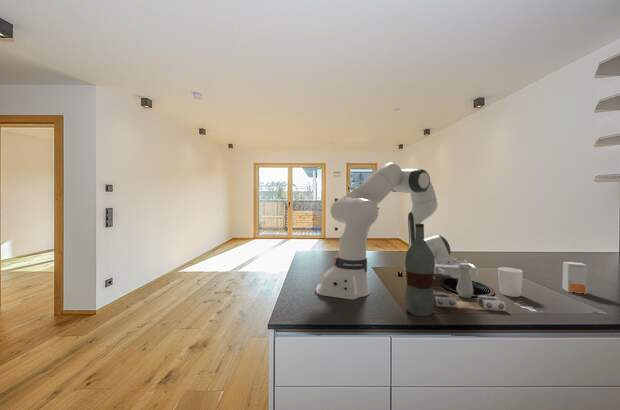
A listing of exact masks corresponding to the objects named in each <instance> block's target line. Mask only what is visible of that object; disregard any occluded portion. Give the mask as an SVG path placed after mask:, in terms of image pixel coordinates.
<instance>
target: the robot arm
mask: <svg viewBox="0 0 620 410" xmlns="http://www.w3.org/2000/svg"><path fill="white" fill-rule="evenodd" d="M391 192H393V193H404V194H410V199H411V203H412V207H411V210H410V211H409V213H408V215H407V227H408V229H407V230H408V249H409V248H410V246H411V245H412V243H413V242H414V241H415V234H416V225H415V224H422V223H423V222H424V221H426V220H427V219H428V218H430V217H431V216H432V215H433V214H434V213H435V212H436V211H437V208H438V199H437V195H436V192H435V189H434V186H433V184H432V182H431V177H430V174H429V173H428V172H427V171H426V170H425V169H423V168H401V167H400V166H399V165H398V164H396V163H395V162H388V163H385V164H384V165H381V166H380V167H379V168H378V169H377V170H375V171H374V172H373V173H372V174H371V175H370V176H369V177H367V179H366V180H365V181H363V182H362V183H361V184H360V185H359V186H357V187H356V188H355V189H353V190H352V191H350V192H348V193H347V194H345V195H344V196H343V197H341V198H339V199H338V200H336V201H334V202H333V203H332V205H331V207H330V215H331V217H332V218H333V219H334V220H335V221H337V222H339V223H341V224H345V226H344V227H345V228H344V231H343V234H342V235H341V236H340V237H339V241H338V244H339V247H338V249H339V251H338V254H339V255H335V256H334V257H333V260H334V262H333V263H334V266H332V267H331V268H329V269H328V270H327V271H326V272H324V274H323V275H322V276H321V281H320V282H319V283H318V284H317V285H316V287H315V294H317V295H318V294H319V295H318V296H326V297H329V298H330V297H332V298H339V299H346V300H357V299H359V298H362V297H367V296H368V295H370V293H371V290H370V286H369V283H368V282H369V281H368V274H367V272H368V258H367V242H368V241H367V239H368V235H369V231H370V229H371V227H372V225H373V224H374V223H375V222H376V221H377V219H378V216H379V207H378V206H377V205H379V204H380V203H381V202H382V201H383V200H384V199H385V198H386V197H387V196H388V195H389V194H390V193H391ZM424 240H425V242H426V244H427V245H428V247H429V248H430V250H431V251H432V253H433V256H434V263H435V267H434V275H442V276H445V277H451V276H459V275H460V270H461V269H459V264H460V263H467V264H470V265H471V270H470V276H471V277H476V276H478V267H476V265H474V264H472V263H470V262H468V261H467V260H466V259H460V258H454V257H450V256H451V247H450V244H449V241H448V240H447V239H446V238H445V237H443V236H442V235H440V234H437V235H433V236H429V237H426V238H425V237H424Z"/></svg>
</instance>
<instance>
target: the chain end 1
mask: <svg viewBox="0 0 620 410" xmlns="http://www.w3.org/2000/svg"><path fill="white" fill-rule="evenodd" d="M433 293H434V301H435V306H436V307H439V308H440V307H442V308H443V307H444V308H456V309H457V307H456V301H457V298H455V297H453V294H451V293H443V292H441V293H439V292H433Z"/></svg>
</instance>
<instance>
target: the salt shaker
mask: <svg viewBox="0 0 620 410" xmlns="http://www.w3.org/2000/svg"><path fill="white" fill-rule="evenodd" d="M467 263H468V262H467ZM467 263H460V264H459V269H461V270H460V275H458V280H457V284H456V291H457V293H458V294H457V295H459V297H461V298H463V299H465V298H466V299H470V298H472V295H473V294H474V287H473V282H472V276H470V270H471V265H470V264H471V263H470V264H467Z"/></svg>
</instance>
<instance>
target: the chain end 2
mask: <svg viewBox="0 0 620 410" xmlns="http://www.w3.org/2000/svg"><path fill="white" fill-rule="evenodd" d="M477 303H478V304H479V305H480V306H482V308H483V309H484V310H483V311H485V310H486V311H501V312H506V301H504V300H500V297H498V296H489V295H488V296H486V295H477Z"/></svg>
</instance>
